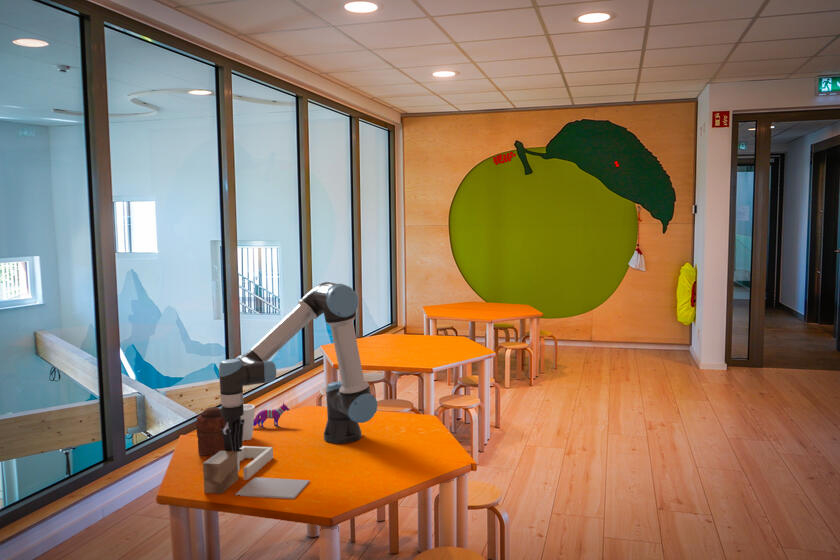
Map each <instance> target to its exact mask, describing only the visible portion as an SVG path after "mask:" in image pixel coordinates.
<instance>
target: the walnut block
mask: <svg viewBox="0 0 840 560" xmlns="http://www.w3.org/2000/svg"><path fill="white" fill-rule="evenodd" d="M202 472H203V475H202V476H203V489H204V494H217V495H218V494H219V495H222V494H223V493H224V492H225V491H227V490H228V489H229V488H231V486H233V485H235V483H236V482H238V480H239V471H238V464H237V451H220V452H218V453H217V454H215V455H211V457H210V458H208V459H206V460H205V461H204V462H202Z"/></svg>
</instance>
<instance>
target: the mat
mask: <svg viewBox="0 0 840 560" xmlns="http://www.w3.org/2000/svg"><path fill="white" fill-rule="evenodd" d="M310 482H311V481H310V480H309V479H295V478H294V479H292V478H291V479H290V478H278V477H277V478H276V477H275V478H272V477H258V476H257V477H256V476H255V477H253V478H252V479H250V480H249V481H248V482H247V483H246V484H245V485H244V486H243V487H241V488H240V489H239V490H238V491H237V492H236V493H235V496H237V495H240V496H239V497H255V498H270V499H271V498H272V499H285V500H286V499H287V500H289V499H290V500H295V498H297V496H298V495H299V494H301V492H302V491H303V490H304V489H305V488H306V486H308V484H309V483H310Z"/></svg>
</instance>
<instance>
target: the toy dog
mask: <svg viewBox="0 0 840 560" xmlns="http://www.w3.org/2000/svg"><path fill="white" fill-rule="evenodd" d="M286 411H290V408H289V407H288V405H286V404H285V403H284V401H282V405H281V406H279V408H274V409H263V410H261V411H259V412H258V413H257V414H256V415H255V416H254V424H253V427H256V426H258V427H259V428H262V429H264V428H265V429H267V428H266V426H264V423H265V422H266V420H268V419H273V422H274V423H273V425H274V426H275V427H277V428H279V427H280V428H281V426H280V425H279V420H280V418H281V416H282V414H284V413H285V412H286Z"/></svg>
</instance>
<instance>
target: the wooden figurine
mask: <svg viewBox="0 0 840 560" xmlns="http://www.w3.org/2000/svg"><path fill="white" fill-rule="evenodd" d="M224 428H225V418H224V417H222V416H221V407H216V406H210V407H208V408H207V407H206V408H205V409H204V410H203V411H202V412H201V413H200V414H199V415H197V417H196V437H197V451H198V455H199V456H214V455H215V454H217V453H218V452H220V451H226V450H225V445H224V439H223V435H222V433H221V429H224Z"/></svg>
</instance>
